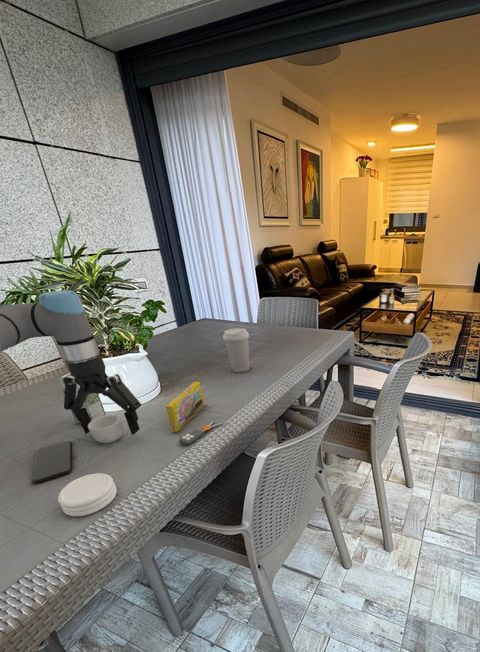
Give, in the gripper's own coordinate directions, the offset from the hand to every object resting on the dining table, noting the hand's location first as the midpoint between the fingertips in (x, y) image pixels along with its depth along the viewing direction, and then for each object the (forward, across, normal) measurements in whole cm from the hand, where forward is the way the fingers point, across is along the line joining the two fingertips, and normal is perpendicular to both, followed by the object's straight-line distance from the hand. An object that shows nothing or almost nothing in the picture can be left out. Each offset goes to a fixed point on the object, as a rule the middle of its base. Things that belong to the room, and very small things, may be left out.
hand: (112, 431), depth 96 cm
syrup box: (+2, +13, -9) cm, 16 cm away
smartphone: (+2, +8, +12) cm, 15 cm away
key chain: (+2, -24, -3) cm, 24 cm away
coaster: (+2, -11, +24) cm, 26 cm away
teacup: (+2, 0, 0) cm, 2 cm away
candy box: (+2, -17, -11) cm, 20 cm away
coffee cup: (+2, -21, -49) cm, 53 cm away
